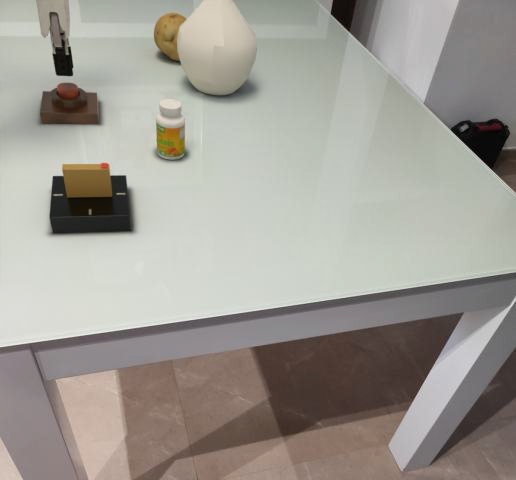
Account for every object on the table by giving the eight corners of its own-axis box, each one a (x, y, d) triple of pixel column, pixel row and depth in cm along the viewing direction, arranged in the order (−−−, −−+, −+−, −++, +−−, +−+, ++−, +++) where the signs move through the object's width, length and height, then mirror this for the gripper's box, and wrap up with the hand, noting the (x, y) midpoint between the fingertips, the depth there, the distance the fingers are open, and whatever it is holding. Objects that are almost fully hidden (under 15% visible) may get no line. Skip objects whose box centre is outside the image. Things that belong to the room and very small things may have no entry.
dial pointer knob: (67, 197, 82) (61, 167, 78) (67, 192, 83) (62, 162, 79) (112, 197, 84) (109, 167, 80) (112, 191, 85) (108, 162, 81)
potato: (188, 48, 139) (189, 6, 132) (197, 67, 132) (199, 23, 124) (151, 47, 137) (149, 4, 129) (157, 66, 129) (156, 21, 122)
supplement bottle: (152, 155, 100) (150, 105, 92) (164, 144, 103) (163, 94, 96) (177, 163, 99) (177, 113, 92) (189, 151, 102) (189, 102, 95)
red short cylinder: (57, 99, 103) (56, 90, 102) (58, 90, 106) (57, 81, 104) (78, 99, 104) (77, 90, 103) (78, 91, 107) (77, 82, 105)
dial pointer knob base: (52, 233, 80) (49, 216, 78) (55, 191, 88) (52, 174, 86) (131, 231, 83) (129, 214, 81) (127, 190, 91) (126, 174, 88)
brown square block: (42, 123, 103) (38, 103, 100) (44, 101, 109) (41, 82, 107) (98, 124, 106) (96, 104, 103) (98, 102, 112) (96, 83, 109)
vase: (266, 88, 127) (284, -61, 105) (223, 111, 116) (234, -51, 94) (207, 66, 133) (213, -81, 111) (161, 85, 122) (157, -74, 100)
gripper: (27, -55, 92) (46, 55, 106) (20, -30, 82) (42, 88, 96) (71, -52, 94) (84, 56, 108) (69, -27, 84) (84, 89, 97)
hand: (64, 70), depth 101 cm, fingers closed
